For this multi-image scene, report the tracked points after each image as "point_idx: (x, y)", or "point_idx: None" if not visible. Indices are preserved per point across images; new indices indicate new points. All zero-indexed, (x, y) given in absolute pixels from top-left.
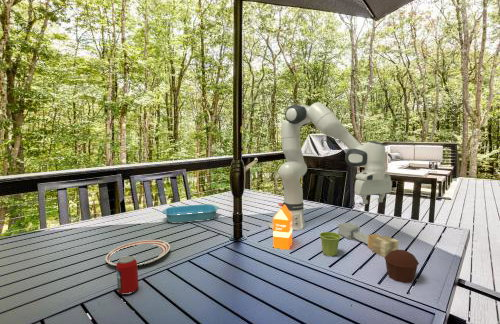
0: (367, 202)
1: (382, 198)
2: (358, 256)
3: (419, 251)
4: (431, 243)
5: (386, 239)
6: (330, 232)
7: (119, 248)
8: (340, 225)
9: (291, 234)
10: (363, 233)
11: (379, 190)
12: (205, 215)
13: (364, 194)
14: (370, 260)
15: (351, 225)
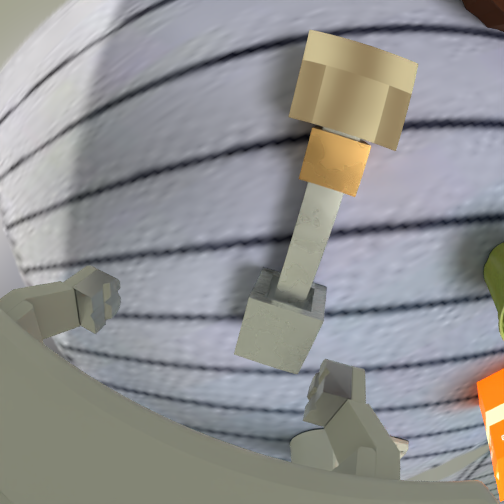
0: (334, 373)
1: (66, 288)
2: (468, 169)
3: (200, 19)
4: (93, 54)
5: (348, 84)
6: (502, 329)
7: None
8: (302, 363)
9: (495, 403)
10: (288, 251)
11: (36, 411)
12: None
13: (440, 493)
14: (468, 114)
15: (267, 331)
